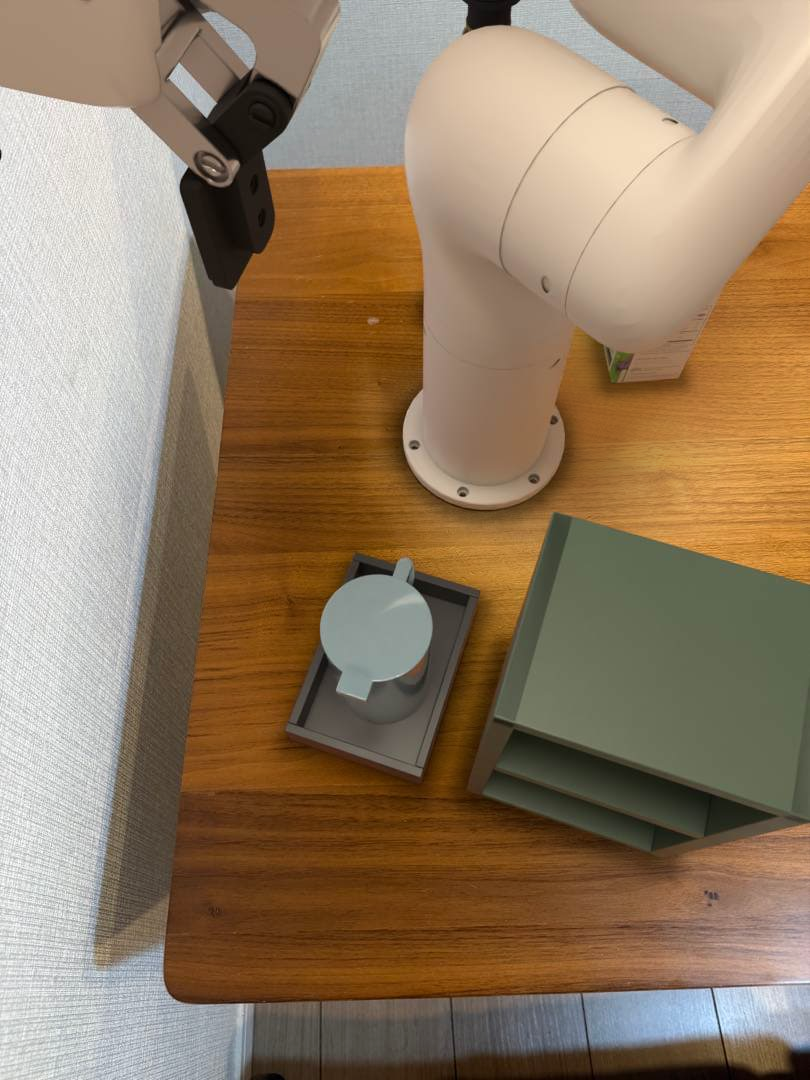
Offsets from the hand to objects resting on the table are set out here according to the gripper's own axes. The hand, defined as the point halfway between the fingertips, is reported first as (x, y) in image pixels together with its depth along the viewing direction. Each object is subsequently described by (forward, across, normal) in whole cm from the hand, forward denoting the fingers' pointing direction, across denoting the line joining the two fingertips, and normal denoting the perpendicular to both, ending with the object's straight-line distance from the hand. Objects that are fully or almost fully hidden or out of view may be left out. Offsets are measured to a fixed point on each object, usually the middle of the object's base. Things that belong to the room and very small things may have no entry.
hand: (103, 219), depth 26 cm
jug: (+36, -9, +3) cm, 37 cm away
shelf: (+36, -23, +3) cm, 43 cm away
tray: (+36, -9, +2) cm, 37 cm away
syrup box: (+36, -20, -30) cm, 51 cm away
